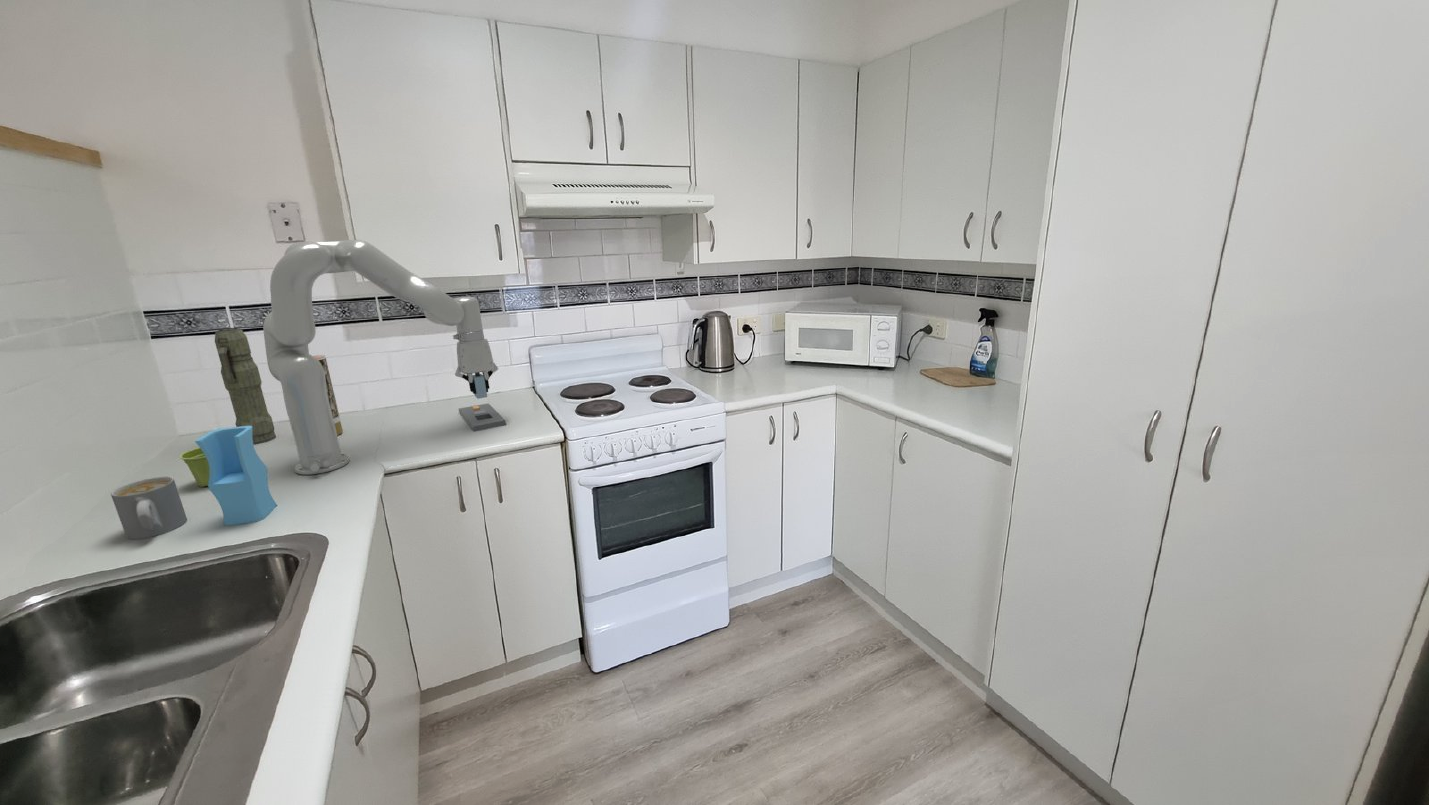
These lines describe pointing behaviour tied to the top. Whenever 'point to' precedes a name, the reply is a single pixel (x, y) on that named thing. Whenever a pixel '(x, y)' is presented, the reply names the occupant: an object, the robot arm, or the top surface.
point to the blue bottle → (479, 385)
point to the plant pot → (197, 465)
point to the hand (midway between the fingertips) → (480, 391)
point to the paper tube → (330, 394)
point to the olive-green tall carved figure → (243, 384)
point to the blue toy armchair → (237, 475)
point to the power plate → (482, 417)
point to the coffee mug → (149, 507)
